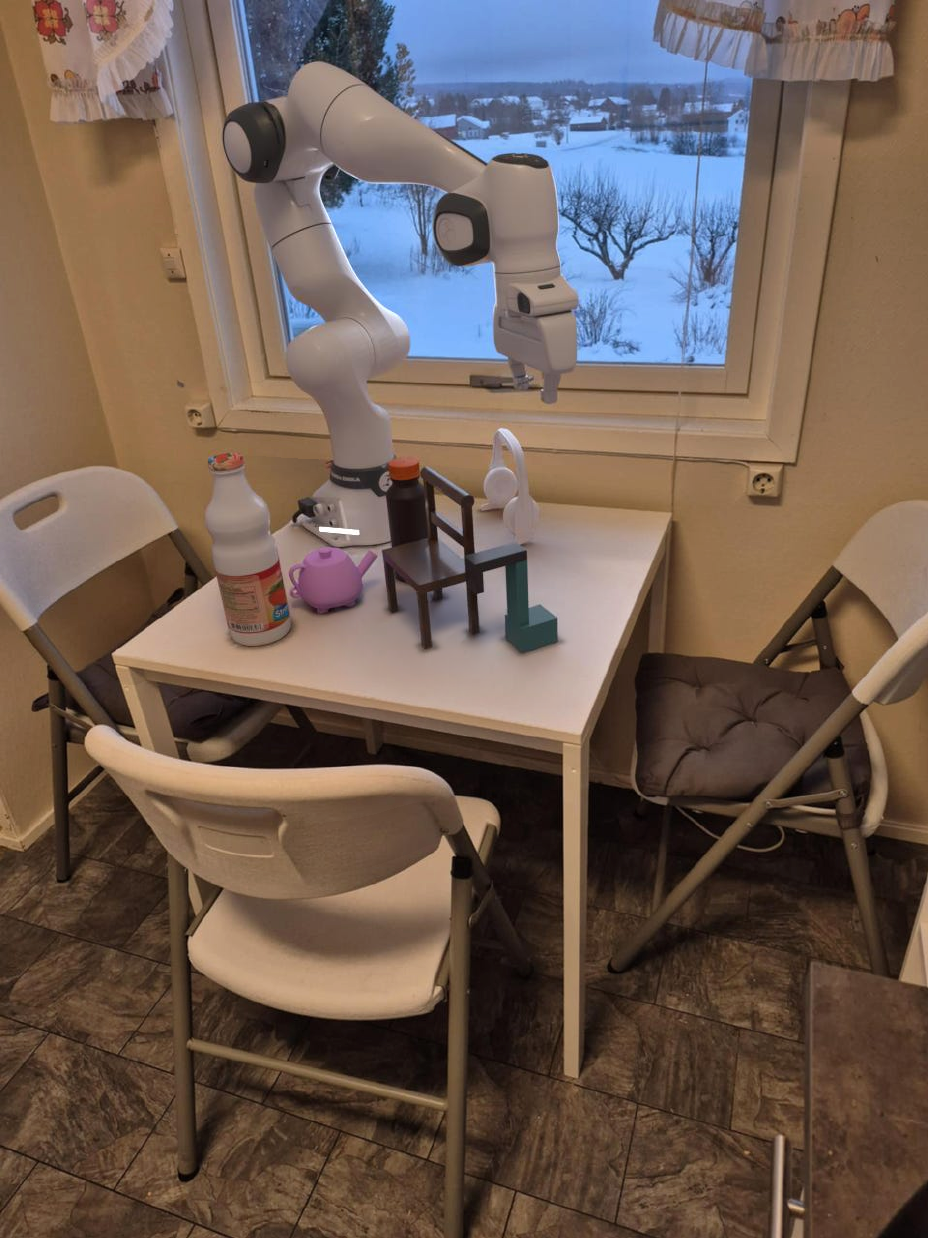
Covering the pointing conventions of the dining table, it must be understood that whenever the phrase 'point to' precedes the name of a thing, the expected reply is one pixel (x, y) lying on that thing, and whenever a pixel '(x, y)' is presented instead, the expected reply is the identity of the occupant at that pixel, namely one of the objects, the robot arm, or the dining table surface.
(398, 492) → the bottle
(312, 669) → the dining table surface
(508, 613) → the block
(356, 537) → the robot arm
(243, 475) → the fruit juice
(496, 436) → the headset
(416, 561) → the chair
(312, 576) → the teapot
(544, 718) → the dining table surface
